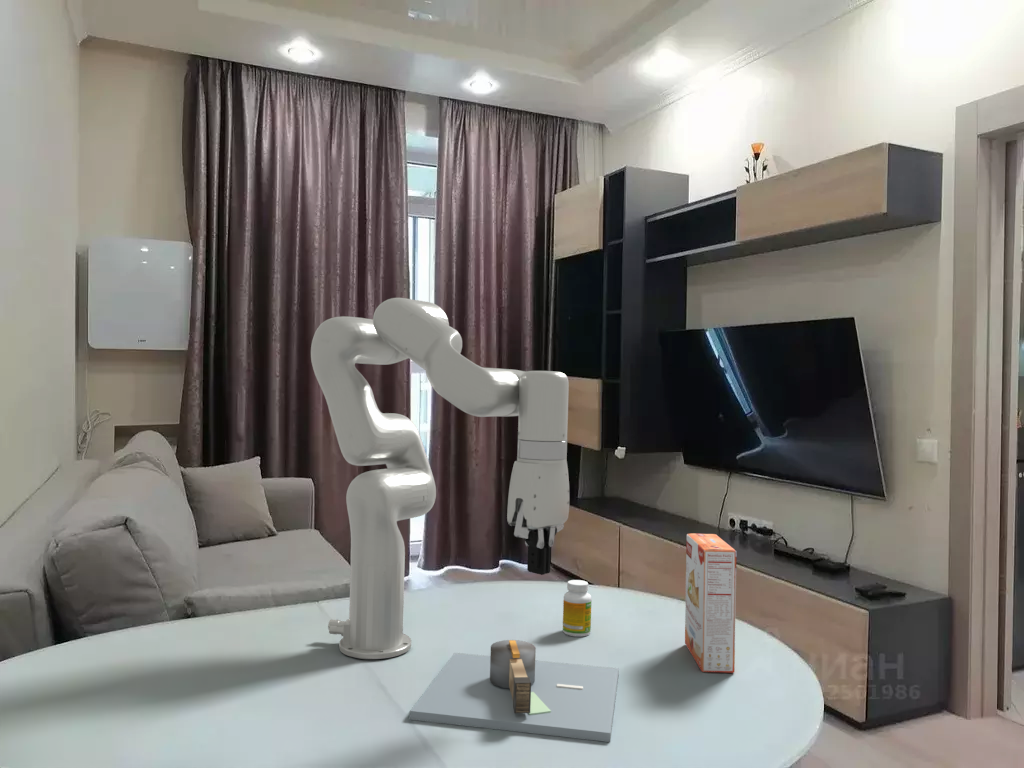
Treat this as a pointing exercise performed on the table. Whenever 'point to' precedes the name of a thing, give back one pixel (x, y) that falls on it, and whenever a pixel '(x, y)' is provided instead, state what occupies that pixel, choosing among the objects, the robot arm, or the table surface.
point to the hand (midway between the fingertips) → (538, 572)
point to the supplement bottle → (577, 609)
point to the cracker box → (710, 602)
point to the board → (554, 699)
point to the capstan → (514, 670)
